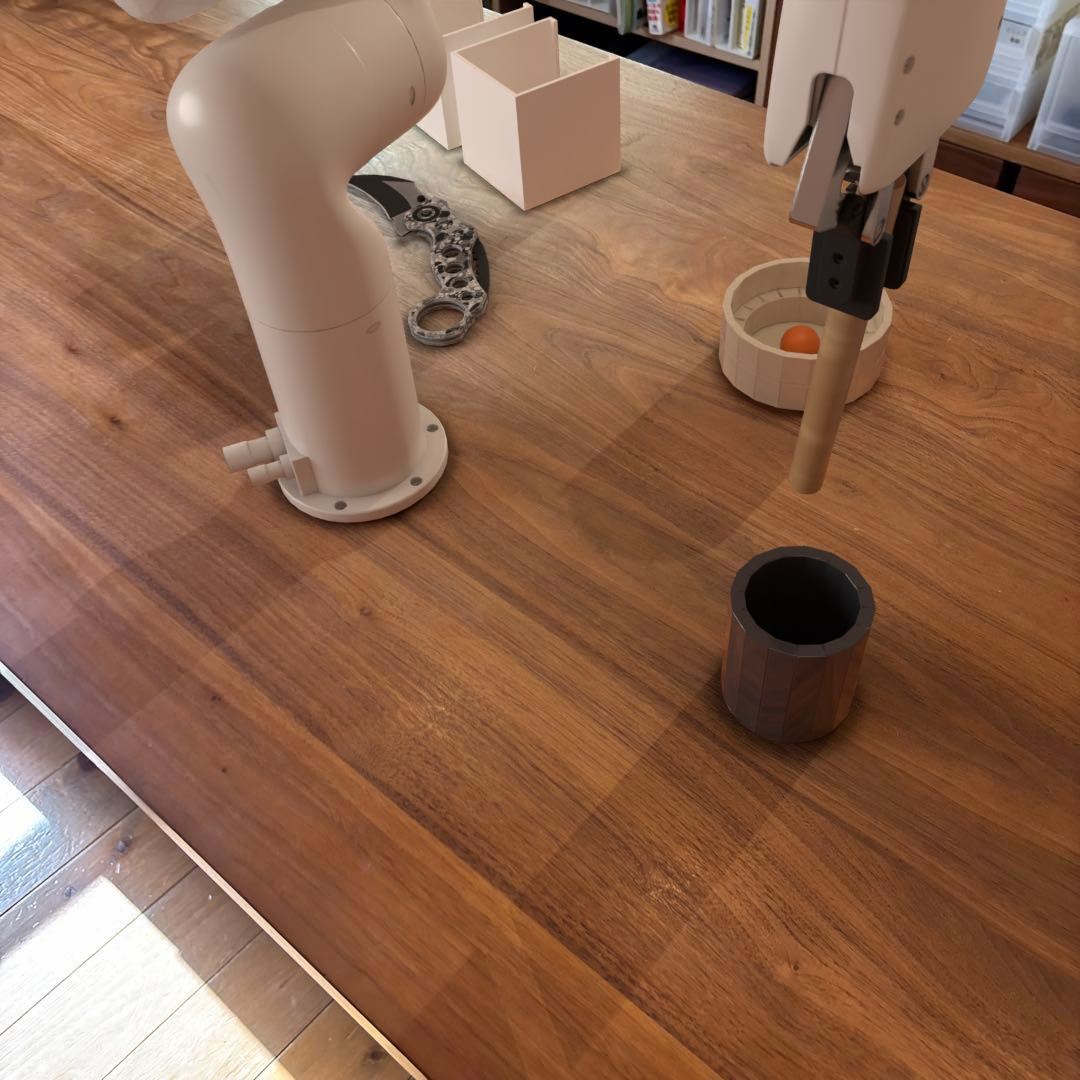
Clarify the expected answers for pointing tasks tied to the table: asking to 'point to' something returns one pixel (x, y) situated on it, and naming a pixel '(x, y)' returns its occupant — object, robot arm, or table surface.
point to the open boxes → (523, 105)
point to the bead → (800, 340)
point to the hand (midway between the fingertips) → (855, 289)
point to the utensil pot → (795, 642)
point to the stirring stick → (831, 384)
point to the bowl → (765, 315)
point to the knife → (435, 252)
